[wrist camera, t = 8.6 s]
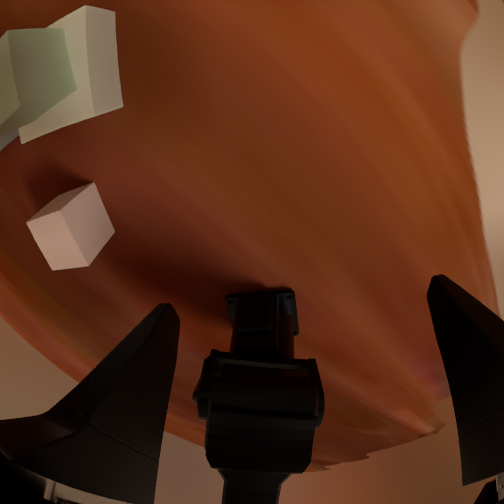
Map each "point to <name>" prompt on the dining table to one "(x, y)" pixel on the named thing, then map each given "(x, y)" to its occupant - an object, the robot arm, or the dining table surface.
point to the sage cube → (32, 75)
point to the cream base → (84, 71)
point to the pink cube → (72, 228)
